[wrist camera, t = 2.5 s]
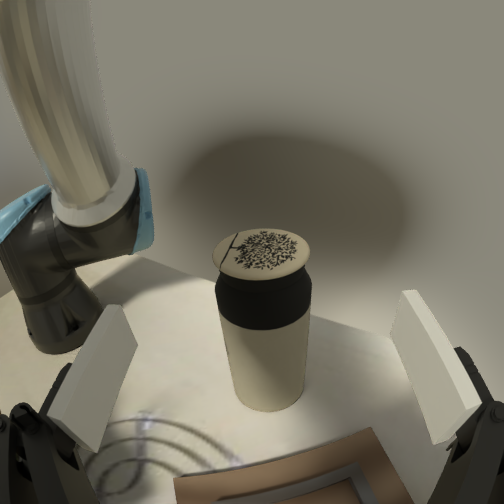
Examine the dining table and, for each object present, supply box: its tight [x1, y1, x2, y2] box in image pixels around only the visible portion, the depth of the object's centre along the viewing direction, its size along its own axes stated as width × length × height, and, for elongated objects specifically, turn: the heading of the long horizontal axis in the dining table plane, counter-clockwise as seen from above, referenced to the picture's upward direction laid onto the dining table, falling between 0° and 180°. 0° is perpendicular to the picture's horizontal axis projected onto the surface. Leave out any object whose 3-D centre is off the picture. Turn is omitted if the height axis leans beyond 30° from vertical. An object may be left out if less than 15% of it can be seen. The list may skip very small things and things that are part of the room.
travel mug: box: [212, 229, 312, 412], centre depth 26 cm, size 8×8×18 cm
